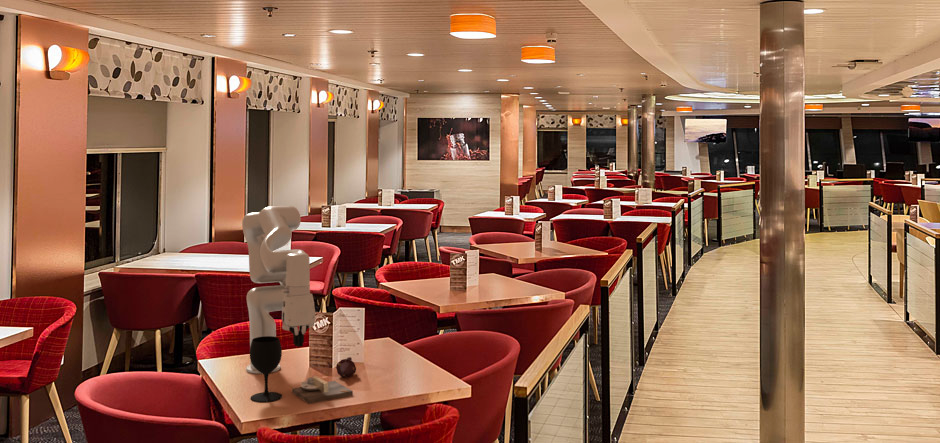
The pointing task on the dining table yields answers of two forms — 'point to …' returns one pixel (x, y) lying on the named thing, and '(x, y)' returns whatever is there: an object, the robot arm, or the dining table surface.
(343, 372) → the dark brown ornament ball
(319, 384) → the dial
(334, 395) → the dial plate
